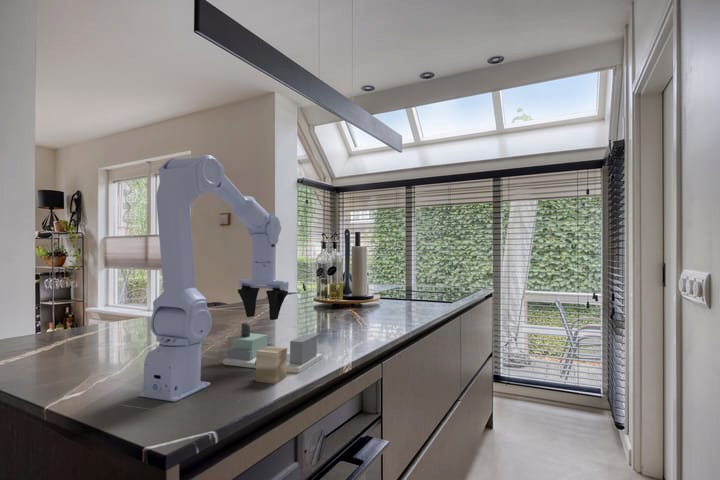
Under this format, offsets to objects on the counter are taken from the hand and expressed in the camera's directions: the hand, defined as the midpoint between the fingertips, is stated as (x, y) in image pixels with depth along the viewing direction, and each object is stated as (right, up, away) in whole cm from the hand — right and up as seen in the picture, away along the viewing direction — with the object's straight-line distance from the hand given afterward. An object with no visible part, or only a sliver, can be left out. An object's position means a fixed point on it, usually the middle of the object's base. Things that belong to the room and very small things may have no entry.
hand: (261, 318), depth 98 cm
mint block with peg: (-2, -8, -2) cm, 9 cm away
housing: (+6, -9, -17) cm, 20 cm away
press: (+4, -9, -4) cm, 11 cm away
